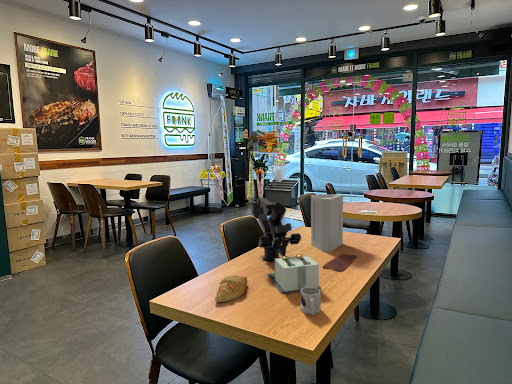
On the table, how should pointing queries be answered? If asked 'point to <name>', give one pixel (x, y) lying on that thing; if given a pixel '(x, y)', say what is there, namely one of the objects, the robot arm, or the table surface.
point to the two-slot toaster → (296, 273)
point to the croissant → (231, 288)
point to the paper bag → (327, 221)
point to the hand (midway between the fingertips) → (284, 257)
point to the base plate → (272, 278)
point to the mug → (310, 300)
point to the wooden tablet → (340, 262)
